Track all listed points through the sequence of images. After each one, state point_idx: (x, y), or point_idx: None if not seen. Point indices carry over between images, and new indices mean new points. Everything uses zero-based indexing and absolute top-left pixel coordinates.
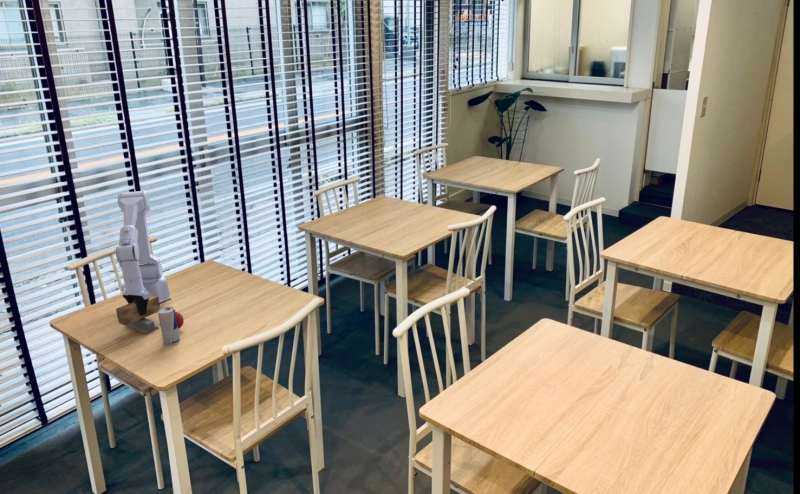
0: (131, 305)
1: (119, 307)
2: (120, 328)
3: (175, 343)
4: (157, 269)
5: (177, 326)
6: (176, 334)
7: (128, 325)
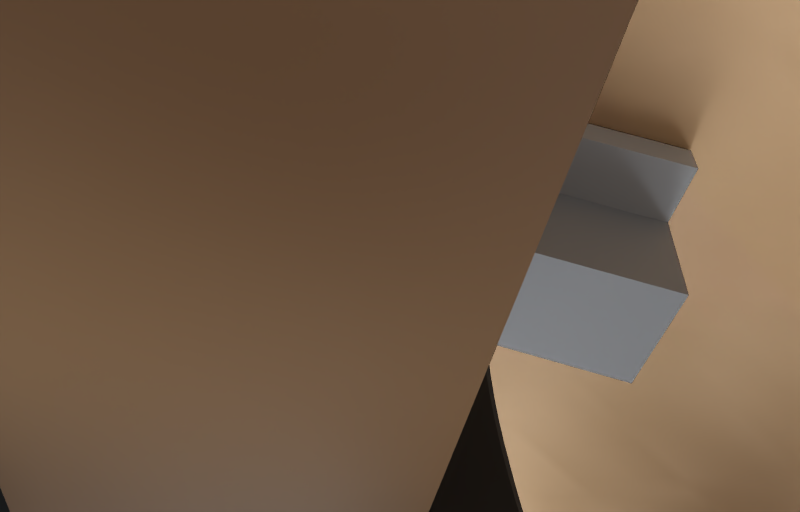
0: (154, 449)
1: (529, 193)
2: (753, 26)
3: None
4: None
5: None
6: None
7: (632, 141)
